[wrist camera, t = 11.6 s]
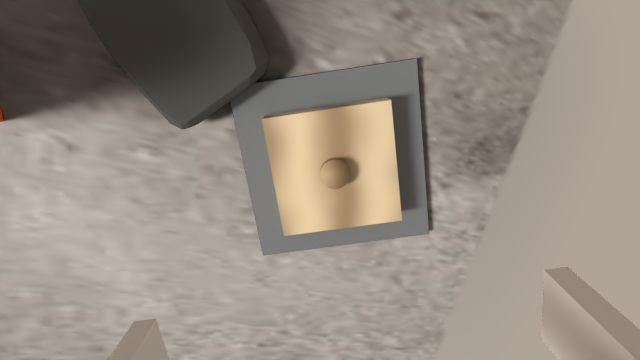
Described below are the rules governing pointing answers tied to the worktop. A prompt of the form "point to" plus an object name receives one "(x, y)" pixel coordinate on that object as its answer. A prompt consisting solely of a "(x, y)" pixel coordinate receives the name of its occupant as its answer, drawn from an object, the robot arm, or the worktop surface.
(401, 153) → the mat
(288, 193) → the lid
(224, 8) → the spray bottle
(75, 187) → the worktop surface
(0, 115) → the orange cereal box
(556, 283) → the robot arm
